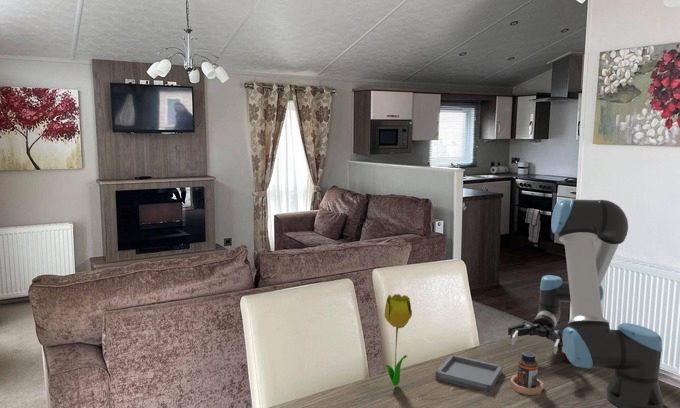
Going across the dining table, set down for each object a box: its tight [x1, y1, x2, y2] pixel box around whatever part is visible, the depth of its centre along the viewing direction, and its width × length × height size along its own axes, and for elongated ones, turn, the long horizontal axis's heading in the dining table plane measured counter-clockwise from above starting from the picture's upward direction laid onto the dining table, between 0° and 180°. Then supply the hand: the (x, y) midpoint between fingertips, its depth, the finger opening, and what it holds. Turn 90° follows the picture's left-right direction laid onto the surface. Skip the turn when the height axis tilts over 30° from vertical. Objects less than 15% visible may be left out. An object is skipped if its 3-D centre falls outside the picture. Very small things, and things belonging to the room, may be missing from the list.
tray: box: [435, 353, 504, 394], centre depth 174 cm, size 18×16×2 cm
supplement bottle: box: [516, 351, 539, 388], centre depth 166 cm, size 6×6×11 cm
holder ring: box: [509, 375, 544, 396], centre depth 167 cm, size 10×10×2 cm
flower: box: [384, 293, 413, 388], centre depth 164 cm, size 9×8×30 cm
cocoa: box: [558, 347, 571, 364], centre depth 185 cm, size 10×6×12 cm, turn 13°
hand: (533, 345), depth 174 cm, fingers open, 13 cm apart
